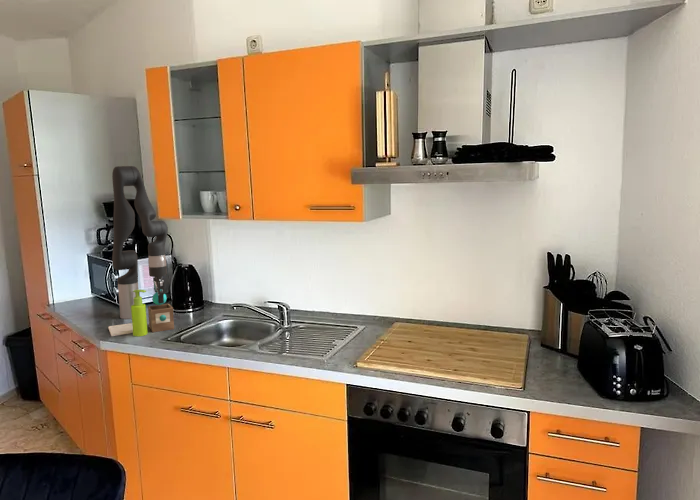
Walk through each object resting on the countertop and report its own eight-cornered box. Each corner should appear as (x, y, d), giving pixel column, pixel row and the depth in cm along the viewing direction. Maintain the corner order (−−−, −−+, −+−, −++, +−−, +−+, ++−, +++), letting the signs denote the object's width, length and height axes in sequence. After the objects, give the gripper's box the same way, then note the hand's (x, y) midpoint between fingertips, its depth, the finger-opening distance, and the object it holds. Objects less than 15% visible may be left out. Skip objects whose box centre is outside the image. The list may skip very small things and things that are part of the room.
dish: (108, 328, 228) (108, 326, 228) (138, 324, 235) (138, 322, 235) (111, 336, 217) (111, 333, 217) (143, 331, 224) (143, 328, 223)
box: (149, 327, 230) (147, 306, 228) (170, 324, 234) (168, 303, 233) (152, 332, 222) (151, 310, 220) (174, 329, 226) (173, 307, 225)
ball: (165, 302, 231) (164, 289, 230) (168, 305, 225) (167, 292, 225) (151, 304, 228) (150, 291, 227) (154, 307, 222) (153, 294, 222)
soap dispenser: (144, 336, 215) (141, 291, 213) (130, 336, 217) (126, 291, 214) (152, 332, 221) (149, 288, 218) (138, 332, 223) (135, 288, 220)
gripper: (169, 266, 220) (171, 303, 222) (163, 262, 232) (165, 297, 234) (151, 268, 216) (153, 306, 218) (146, 263, 228) (148, 299, 231)
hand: (159, 301), depth 226 cm, fingers closed on ball, 6 cm apart
